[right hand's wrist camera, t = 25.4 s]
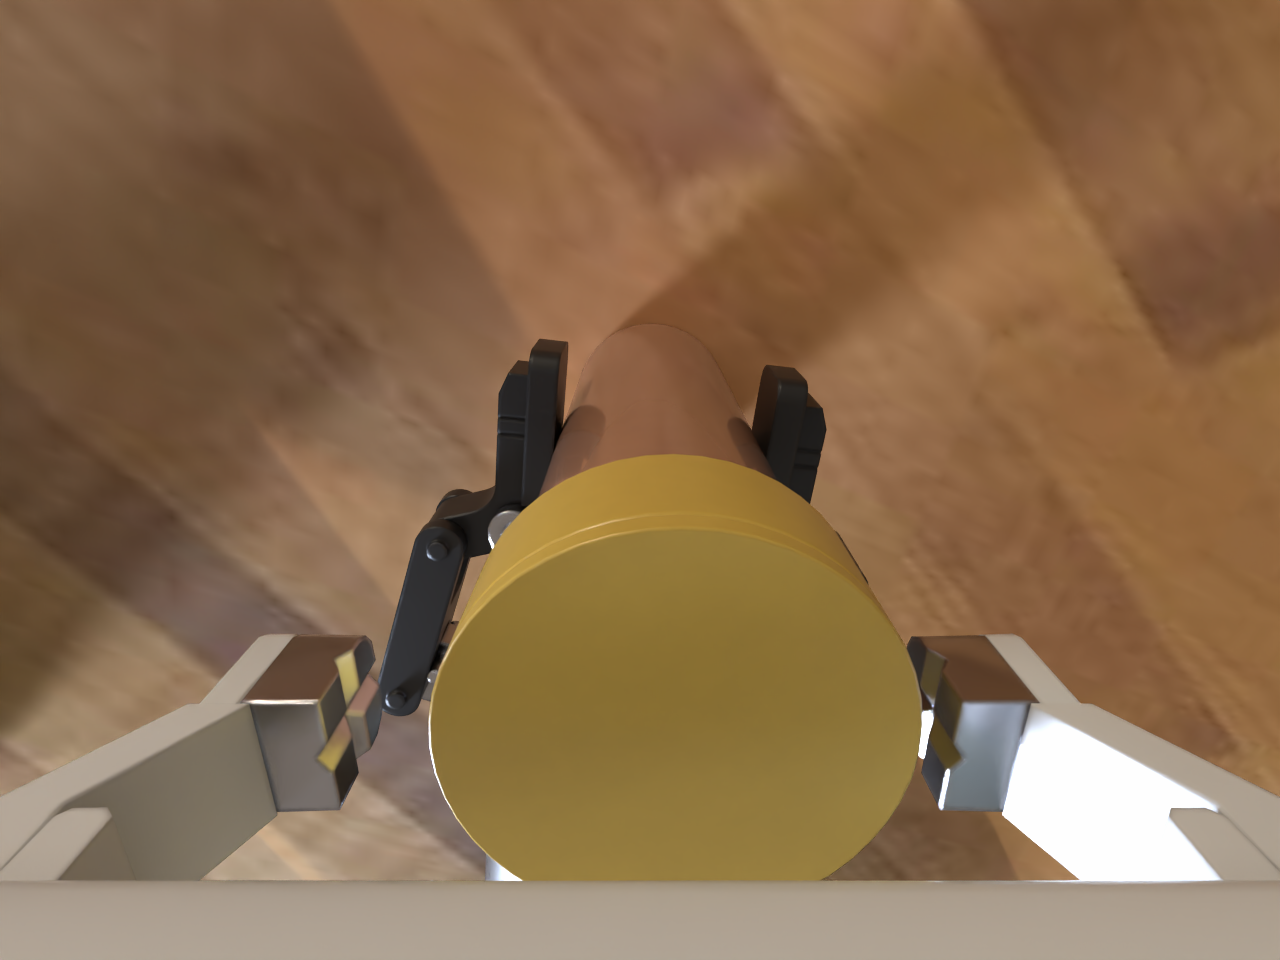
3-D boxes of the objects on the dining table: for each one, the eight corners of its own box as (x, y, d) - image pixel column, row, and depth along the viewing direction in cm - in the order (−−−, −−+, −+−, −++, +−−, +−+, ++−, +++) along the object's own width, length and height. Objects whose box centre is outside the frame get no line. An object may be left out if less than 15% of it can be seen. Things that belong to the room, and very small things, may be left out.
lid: (398, 662, 10) (335, 782, 8) (634, 365, 9) (632, 416, 7) (691, 837, 12) (704, 981, 10) (944, 607, 10) (1030, 717, 8)
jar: (563, 446, 24) (449, 805, 10) (597, 305, 22) (521, 483, 8) (699, 480, 25) (789, 872, 10) (742, 345, 23) (928, 582, 8)
